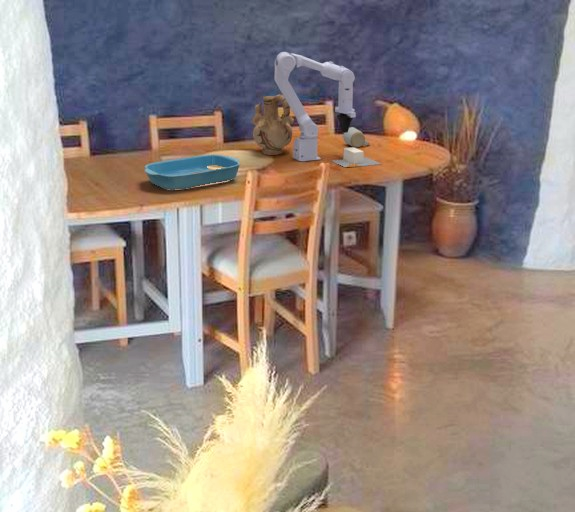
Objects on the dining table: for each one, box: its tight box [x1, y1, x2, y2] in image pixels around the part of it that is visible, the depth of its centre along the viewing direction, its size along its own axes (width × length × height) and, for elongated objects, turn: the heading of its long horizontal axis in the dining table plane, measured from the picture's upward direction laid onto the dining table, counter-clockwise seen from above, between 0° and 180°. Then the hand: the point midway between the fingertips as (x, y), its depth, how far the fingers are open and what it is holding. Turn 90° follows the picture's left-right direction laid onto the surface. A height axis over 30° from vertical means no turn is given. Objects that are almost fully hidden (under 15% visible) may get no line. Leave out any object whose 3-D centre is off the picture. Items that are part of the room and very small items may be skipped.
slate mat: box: [331, 156, 382, 168], centre depth 354 cm, size 16×12×1 cm
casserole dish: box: [144, 154, 241, 190], centre depth 324 cm, size 37×22×7 cm, turn 125°
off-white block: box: [342, 146, 365, 164], centre depth 356 cm, size 4×4×9 cm
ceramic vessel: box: [250, 94, 295, 156], centre depth 366 cm, size 18×19×25 cm
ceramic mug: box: [342, 126, 370, 149], centre depth 383 cm, size 11×8×8 cm
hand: (344, 132), depth 360 cm, fingers closed
